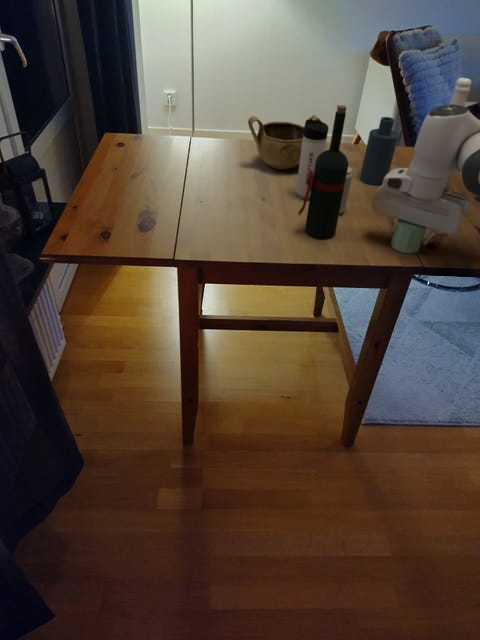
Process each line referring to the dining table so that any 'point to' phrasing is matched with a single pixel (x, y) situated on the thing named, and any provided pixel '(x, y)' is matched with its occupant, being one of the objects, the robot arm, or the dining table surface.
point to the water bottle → (379, 153)
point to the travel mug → (310, 153)
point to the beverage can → (346, 190)
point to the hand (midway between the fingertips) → (407, 237)
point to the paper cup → (407, 236)
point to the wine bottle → (327, 185)
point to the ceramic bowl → (279, 142)
